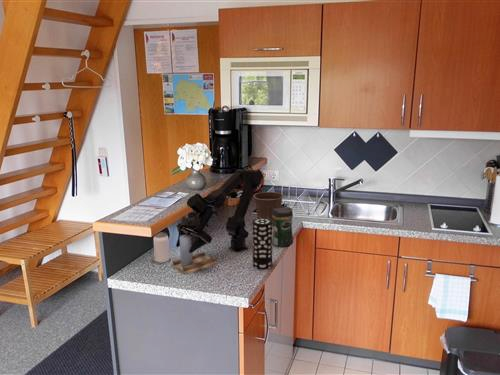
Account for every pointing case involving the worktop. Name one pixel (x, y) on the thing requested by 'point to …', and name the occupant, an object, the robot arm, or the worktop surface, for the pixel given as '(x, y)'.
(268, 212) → the plant pot
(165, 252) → the can
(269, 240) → the white-spotted black cylinder
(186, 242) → the grey translucent cylinder
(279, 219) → the coffee jar
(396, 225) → the worktop surface
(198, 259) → the track
